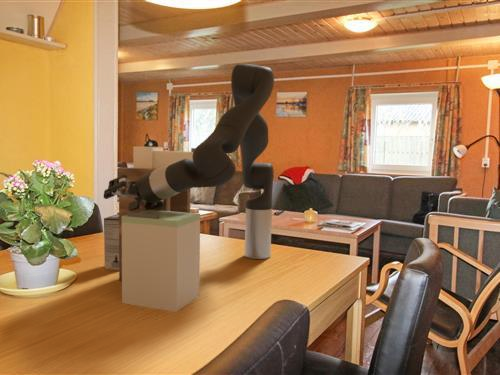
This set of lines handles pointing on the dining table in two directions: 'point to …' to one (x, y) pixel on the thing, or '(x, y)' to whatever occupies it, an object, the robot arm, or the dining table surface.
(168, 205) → the walnut bridge
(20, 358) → the dining table surface
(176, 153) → the stepped cream block
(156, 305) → the green-lidded white box
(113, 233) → the coffee box
